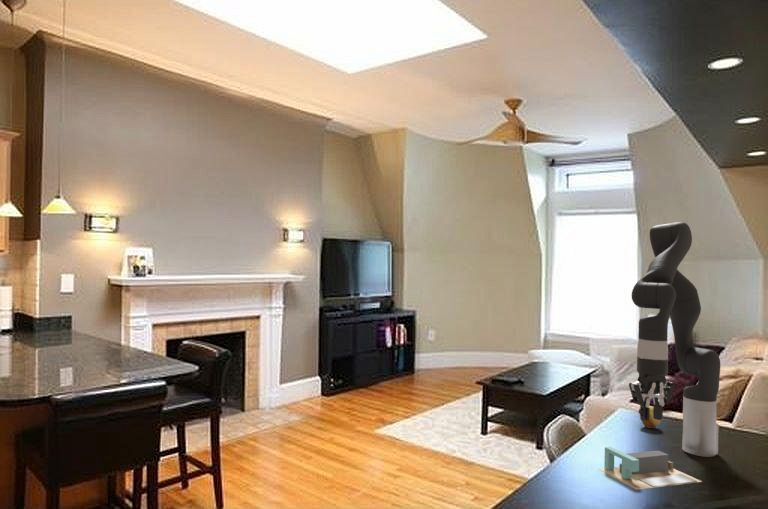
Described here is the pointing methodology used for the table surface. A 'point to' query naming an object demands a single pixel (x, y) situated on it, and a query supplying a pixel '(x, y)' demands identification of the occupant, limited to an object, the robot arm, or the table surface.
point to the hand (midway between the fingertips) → (651, 419)
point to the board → (652, 478)
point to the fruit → (650, 420)
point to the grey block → (651, 461)
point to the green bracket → (628, 462)
